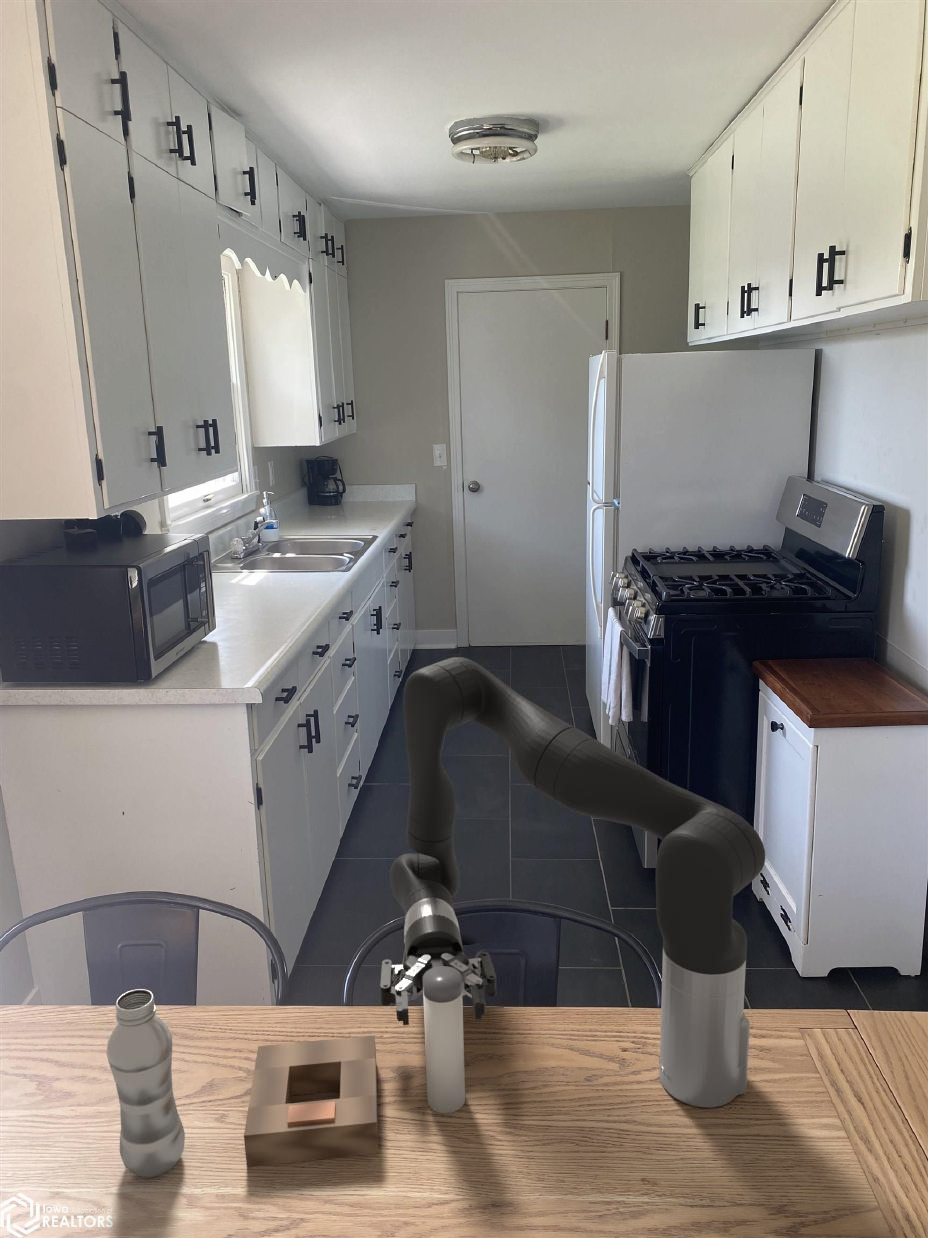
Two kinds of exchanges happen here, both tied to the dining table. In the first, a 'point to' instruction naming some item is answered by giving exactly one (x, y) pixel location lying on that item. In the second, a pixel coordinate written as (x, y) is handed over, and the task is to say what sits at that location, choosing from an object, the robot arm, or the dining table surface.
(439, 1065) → the plug
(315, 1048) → the socket block
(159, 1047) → the plastic bottle
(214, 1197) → the dining table surface
